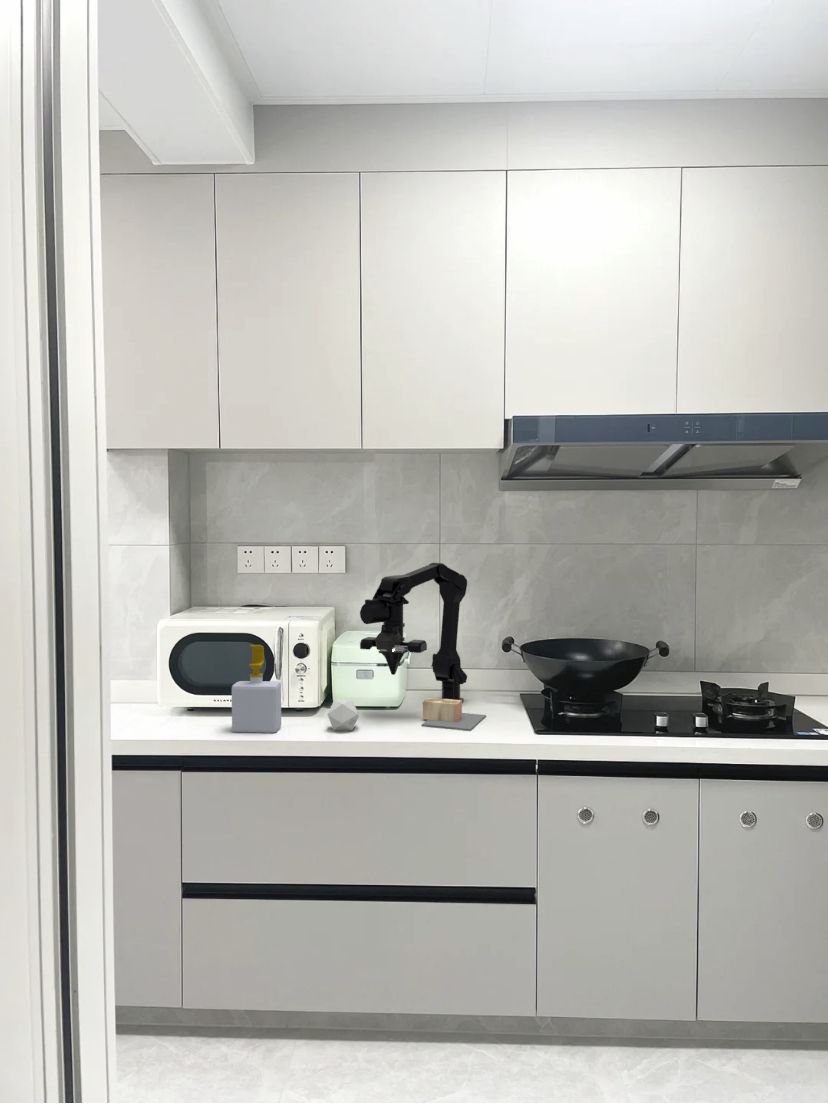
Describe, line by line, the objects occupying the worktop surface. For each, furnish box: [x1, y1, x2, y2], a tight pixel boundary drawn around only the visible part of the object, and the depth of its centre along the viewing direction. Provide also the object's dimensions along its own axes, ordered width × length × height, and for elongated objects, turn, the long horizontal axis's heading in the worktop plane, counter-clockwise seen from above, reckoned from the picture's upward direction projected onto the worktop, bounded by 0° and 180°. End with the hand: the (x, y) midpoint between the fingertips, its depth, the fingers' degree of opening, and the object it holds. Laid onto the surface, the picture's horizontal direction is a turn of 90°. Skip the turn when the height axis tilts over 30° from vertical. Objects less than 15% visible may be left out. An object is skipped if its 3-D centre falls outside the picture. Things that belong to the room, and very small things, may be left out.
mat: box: [421, 712, 487, 732], centre depth 232 cm, size 16×14×1 cm
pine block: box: [422, 697, 463, 722], centre depth 234 cm, size 5×5×10 cm
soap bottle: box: [231, 644, 282, 734], centre depth 223 cm, size 12×7×23 cm, turn 87°
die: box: [327, 699, 360, 732], centre depth 224 cm, size 8×9×10 cm
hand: (393, 674), depth 238 cm, fingers closed
